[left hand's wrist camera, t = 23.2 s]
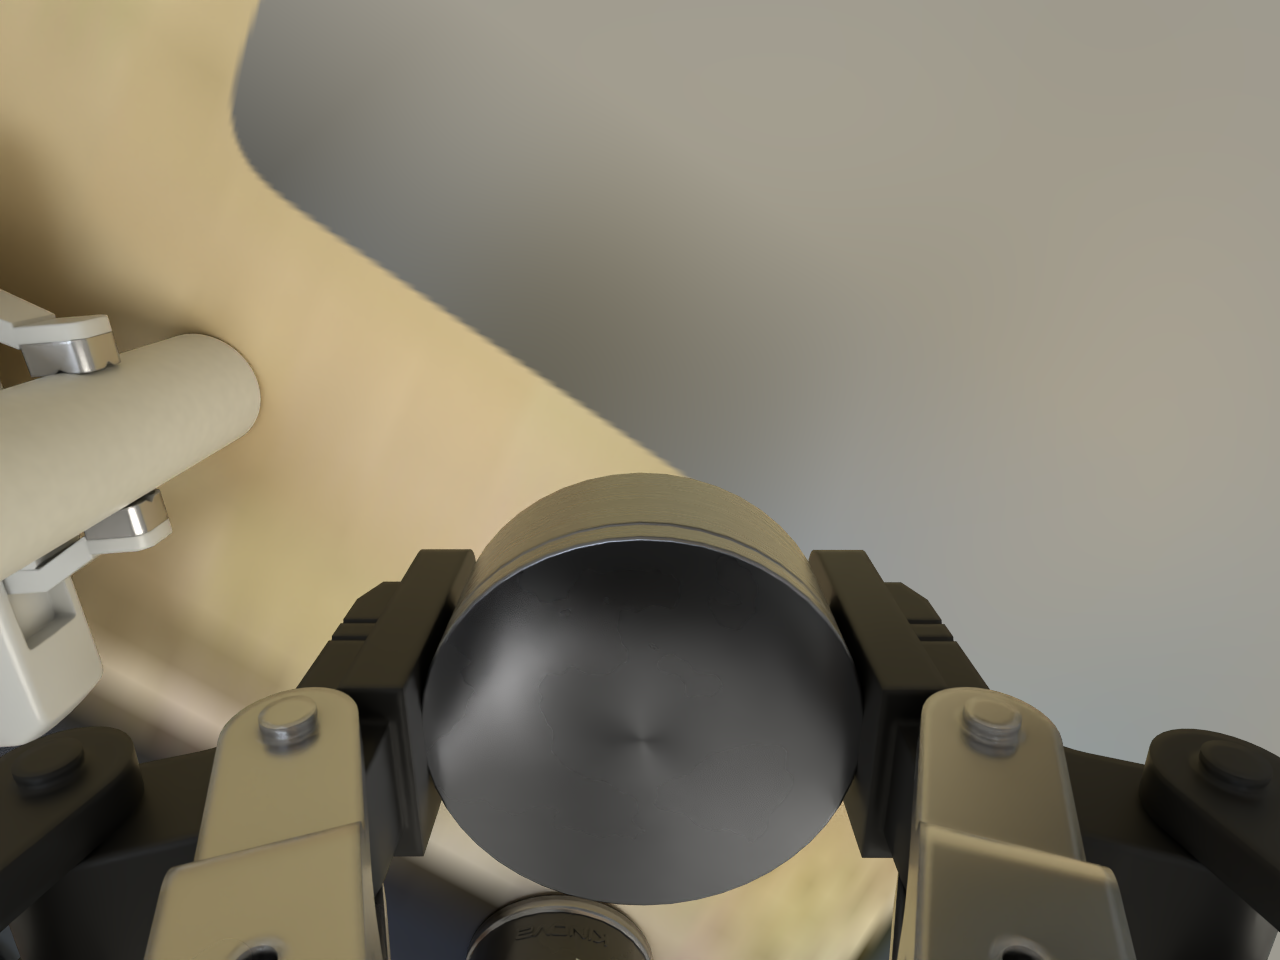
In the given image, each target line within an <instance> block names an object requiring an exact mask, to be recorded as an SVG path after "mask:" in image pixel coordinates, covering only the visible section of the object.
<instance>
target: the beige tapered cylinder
mask: <svg viewBox="0 0 1280 960" xmlns="http://www.w3.org/2000/svg"><path fill="white" fill-rule="evenodd" d="M119 356H120V359H121V363H119V364H116V365H108V366H106V367H105V368H104V369H100V370H97V371H92V372H87V373H80V374H67V373H65V372H61V373H58V374H54V375H49V376H45V377H41V378H38V379H35V380H32V381H28V382H25V383H22V384H19V385H15V386H12V387H9V388H6V389H2V390H0V581H2V580H4V579H5V578H7V577H9V576H10V575H12V574H14V573H15V572H17V571H19V570H20V569H22V568H24V567H25V566H27V565H29V564H30V563H32V562H34V561H35V560H37V559H39V558H40V557H42V556H44V555H45V554H47V553H49V552H50V551H52V550H54V549H55V548H57V547H59V546H60V545H62V544H64V543H65V542H67V541H69V540H70V539H72V538H74V537H75V536H77V535H79V534H80V533H82V532H84V531H85V530H87V529H89V528H90V527H92V526H94V525H95V524H97V523H99V522H100V521H102V520H104V519H105V518H107V517H109V516H110V515H112V514H114V513H115V512H117V511H119V510H120V509H122V508H124V507H125V506H127V505H129V504H130V503H132V502H134V501H135V500H137V499H139V498H140V497H142V496H144V495H145V494H147V493H149V492H150V491H152V490H154V489H155V488H157V487H159V486H160V485H162V484H164V483H165V482H167V481H169V480H170V479H172V478H174V477H175V476H177V475H179V474H180V473H182V472H184V471H185V470H187V469H189V468H190V467H192V466H194V465H195V464H197V463H199V462H200V461H202V460H204V459H205V458H207V457H209V456H210V455H212V454H214V453H215V452H217V451H219V450H220V449H222V448H224V447H225V446H227V445H229V444H230V443H232V442H234V441H235V440H237V439H239V438H240V437H242V436H243V435H244V434H246V433H247V432H248V431H249V430H250V428H251V427H252V426H253V425H254V423H255V421H256V419H257V416H258V413H259V409H260V400H261V397H260V389H259V384H258V381H257V378H256V376H255V374H254V372H253V370H252V368H251V367H250V365H249V364H248V362H247V361H246V360H245V359H244V357H243V356H242V355H241V354H240V353H239V352H237V351H236V350H235V349H234V348H232V347H231V346H230V345H228V344H226V343H225V342H223V341H221V340H219V339H216V338H213V337H211V336H207V335H202V334H183V335H178V336H175V337H172V338H169V339H165V340H162V341H159V342H156V343H152V344H149V345H146V346H142V347H139V348H136V349H133V350H129V351H126V352H123V353H120V354H119Z"/></svg>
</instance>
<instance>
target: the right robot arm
mask: <svg viewBox="0 0 1280 960" xmlns="http://www.w3.org/2000/svg"><path fill="white" fill-rule="evenodd" d="M0 343H3V344H5V345H8V346H11V347H13V348H16V349H18V350H21V351H22V354H23V356H24V359H25V362H26V364H27V367H28V370H29V372H30V375H31V377H42V376H49V375H54V374H58V373H61V372H65V373H67V374H80V373H87V372H92V371H97V370H100V369H104V368H105V367H106V366H108V365H116V364H119V363H121V359H120V356H119V352H118V349H117V345H116V342H115V338H114V334H113V331H112V329H111V326H110V322H109V319H108V315H104V314H100V315H88V316H75V317H62V318H56V317H55V314H54V313H52V312H49V311H47V310H45V309H43V308H41V307H39V306H36V305H34V304H32V303H30V302H28V301H26V300H24V299H21V298H19V297H17V296H15V295H13V294H11V293H8V292H6V291H4V290H2V289H0ZM2 389H3V386H2V383H1V380H0V390H2ZM84 533H85V536H84V537H82V538H81V539H80V537H79V535H77V536H75V537H74V538H72V539H70V540H69V541H67V542H65V543H64V544H62V545H60V546H59V547H57V548H55V549H54V550H52V551H50V552H49V553H47V554H45V555H44V556H42V557H40V558H39V559H37V560H35V561H34V562H32V563H30V564H29V565H27V566H25V567H24V568H22V569H20V570H19V571H17V572H15V573H14V574H12V575H10V576H9V577H7V578H5V579H4V580H2V581H0V747H8V746H18V745H23V744H26V743H29V742H31V741H33V740H36V739H37V738H39V737H41V736H42V735H44V734H45V733H47V732H48V731H49V730H50V729H52V728H53V727H54V726H56V725H57V724H58V723H59V722H60V721H61V720H62V719H64V718H65V717H66V716H67V715H68V714H69V713H70V712H71V711H72V710H73V709H74V708H75V707H76V706H77V705H78V704H79V703H80V702H81V701H82V700H83V699H84V698H85V697H86V696H87V695H88V693H89V692H90V691H91V690H92V689H93V688H94V686H95V685H96V684H97V683H98V681H99V680H100V678H101V677H102V674H103V665H102V662H101V658H100V656H99V653H98V650H97V647H96V645H95V642H94V639H93V636H92V634H91V631H90V628H89V625H88V623H87V620H86V617H85V614H84V611H83V609H82V606H81V603H80V600H79V598H78V595H77V592H76V589H75V586H74V584H73V581H72V578H71V575H72V574H74V573H75V572H77V571H78V570H80V569H81V568H83V567H84V566H86V565H87V564H89V563H90V562H92V561H93V560H94V559H96V558H97V557H98V556H100V555H101V554H108V553H121V552H134V551H140V550H144V549H147V548H150V547H152V546H154V545H156V544H157V543H159V542H160V541H161V540H163V539H164V538H165V537H167V536H168V535H169V534H171V533H172V527H171V524H170V520H169V517H168V515H167V511H166V508H165V505H164V502H163V499H162V495H161V492H160V490H159V489H154V490H152V491H150V492H149V493H147V494H145V495H144V496H142V497H140V498H139V499H137V500H135V501H134V502H132V503H130V504H129V505H127V506H125V507H124V508H122V509H120V510H119V511H117V512H115V513H114V514H112V515H110V516H109V517H107V518H105V519H104V520H102V521H100V522H99V523H97V524H95V525H94V526H92V527H90V528H89V529H87V530H85V531H84Z"/></svg>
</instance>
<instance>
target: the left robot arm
mask: <svg viewBox="0 0 1280 960" xmlns="http://www.w3.org/2000/svg"><path fill="white" fill-rule="evenodd" d="M475 563H476V560H475V556H474V553H473V551H472V550H471V549H422V550H420V551H419V553H418V554H417V556H416V557H415V559H414V561H413V562H412V564H411V566H410V567H409V569H408V571H407V572H406V574H405V576H404V577H403V579H402V581H401V582H382V583H381V584H379V585H378V586H376V587H375V588H373V589H372V590H370V591H369V592H367V593H366V594H364V595H363V596H361V597H360V598H358V599H357V600H356V602H355V603H354V605H353V606H352V608H351V609H350V610H349V612H348V613H347V615H346V616H345V618H344V619H343V623H341V624H340V625H339V627H338V628H337V629H336V631H335V632H334V634H333V635H332V641H328V643H327V644H326V645H325V647H324V648H323V650H322V651H321V653H320V654H319V656H318V657H317V659H316V660H315V661H314V663H313V664H312V666H311V667H310V669H309V670H308V672H307V673H306V675H305V676H304V678H303V679H302V680H301V682H300V683H299V685H298V686H297V688H296V689H292V690H287V691H283V692H279V693H276V694H273V695H270V696H268V697H265V698H263V699H260V700H258V701H256V702H254V703H253V704H251V705H249V706H247V707H246V708H244V709H243V710H241V711H240V712H238V713H237V714H236V715H235V716H234V717H232V718H231V719H230V721H229V722H228V723H227V724H226V725H225V726H224V728H223V730H222V731H221V733H220V736H219V739H218V743H217V747H215V748H212V749H208V750H204V751H200V752H195V753H190V754H185V755H180V756H175V757H170V758H166V759H161V760H156V761H151V762H146V763H141V764H139V763H138V760H137V756H136V752H135V748H134V745H133V742H132V740H131V738H130V737H129V736H128V735H127V734H126V733H124V732H122V731H121V730H118V729H114V728H110V727H82V728H75V729H70V730H65V731H61V732H57V733H54V734H50V735H47V736H44V737H41V738H38V739H36V740H33V741H31V742H29V743H26V744H24V745H22V746H20V747H18V748H16V749H14V750H12V751H10V752H8V753H7V754H5V755H3V756H2V757H0V932H1V931H2V930H3V929H5V928H6V927H7V926H8V925H9V926H10V929H11V932H12V934H13V937H14V940H15V943H16V945H17V948H18V951H19V954H20V956H21V957H20V958H19V959H18V960H391V958H390V945H389V933H388V920H387V908H386V898H385V891H384V885H383V882H384V880H385V877H386V874H387V872H388V869H389V866H390V863H391V861H392V858H393V856H424V853H425V850H426V847H427V844H428V841H429V838H430V834H431V831H432V828H433V825H434V822H435V819H436V816H437V813H438V810H439V807H440V804H441V800H442V799H441V797H440V796H439V794H438V792H437V790H436V788H435V786H434V783H433V781H432V778H431V776H430V773H429V769H428V762H427V754H426V745H425V736H424V728H423V718H422V707H421V706H422V691H423V688H424V684H425V680H426V677H427V673H428V669H429V666H430V664H431V662H432V659H433V657H434V655H435V653H436V650H437V648H438V646H439V643H440V641H441V639H442V637H443V634H444V632H445V630H446V627H447V625H448V623H449V621H450V618H451V616H452V614H453V611H454V609H455V607H456V605H457V602H458V600H459V598H460V595H461V593H462V591H463V589H464V586H465V584H466V582H467V580H468V577H469V575H470V573H471V571H472V568H473V566H474V565H475ZM809 564H810V566H811V568H812V570H813V572H814V574H815V576H816V578H817V581H818V583H819V585H820V587H821V589H822V592H823V594H824V596H825V598H826V601H827V603H828V605H829V607H830V610H831V612H832V614H833V616H834V618H835V621H836V623H837V625H838V627H839V630H840V632H841V634H842V636H843V639H844V641H845V643H846V646H847V648H848V650H849V652H850V654H851V656H852V659H853V661H854V664H855V667H856V670H857V673H858V677H859V680H860V683H861V687H862V694H863V702H864V709H863V719H862V729H861V737H860V746H859V754H858V762H857V769H856V772H855V775H854V778H853V781H852V784H851V786H850V788H849V789H848V791H847V793H846V795H845V797H844V799H843V801H844V804H845V808H846V811H847V814H848V817H849V820H850V823H851V826H852V829H853V832H854V835H855V838H856V841H857V844H858V847H859V850H860V853H861V856H862V858H893V860H894V862H895V865H896V868H897V870H898V878H897V885H896V891H895V898H894V908H893V920H892V933H891V945H890V958H889V960H1267V959H1268V956H1269V954H1270V951H1271V948H1272V946H1273V943H1274V940H1275V938H1276V935H1277V932H1278V931H1279V932H1280V757H1278V756H1276V755H1275V754H1273V753H1271V752H1269V751H1267V750H1265V749H1263V748H1261V747H1259V746H1256V745H1254V744H1252V743H1249V742H1247V741H1244V740H1241V739H1238V738H1235V737H1232V736H1229V735H1225V734H1221V733H1217V732H1212V731H1207V730H1199V729H1176V730H1170V731H1166V732H1163V733H1161V734H1159V735H1157V736H1156V737H1155V738H1154V739H1153V740H1152V742H1151V744H1150V747H1149V751H1148V755H1147V758H1146V762H1145V765H1144V764H1139V763H1134V762H1129V761H1124V760H1119V759H1114V758H1109V757H1105V756H1100V755H1095V754H1090V753H1086V752H1081V751H1077V750H1073V749H1070V748H1067V747H1064V746H1063V743H1062V739H1061V736H1060V733H1059V731H1058V730H1057V728H1056V726H1055V725H1054V724H1053V723H1052V722H1051V721H1050V719H1049V718H1048V717H1046V716H1045V715H1044V714H1043V713H1041V712H1040V711H1039V710H1037V709H1036V708H1034V707H1033V706H1031V705H1029V704H1027V703H1025V702H1024V701H1022V700H1019V699H1017V698H1015V697H1012V696H1010V695H1007V694H1004V693H1001V692H997V691H993V690H990V689H989V688H988V686H987V685H986V683H985V682H984V680H983V679H982V678H981V676H980V675H979V673H978V672H977V670H976V669H975V668H974V666H973V665H972V663H971V662H970V660H969V659H968V657H967V656H966V655H965V653H964V652H963V650H962V649H961V647H960V646H959V645H958V643H957V642H956V641H953V636H952V634H951V633H950V632H949V630H948V629H947V627H946V626H945V624H942V622H941V619H940V617H939V616H938V614H937V613H936V611H935V610H934V609H933V607H932V606H931V604H930V603H929V601H928V600H927V599H925V598H924V597H922V596H921V595H919V594H918V593H916V592H915V591H913V590H912V589H910V588H909V587H907V586H906V585H904V584H903V583H901V582H883V580H882V578H881V577H880V575H879V574H878V572H877V570H876V569H875V567H874V565H873V564H872V562H871V560H870V559H869V557H868V556H867V554H866V553H865V551H863V550H813V551H812V552H811V554H810V557H809ZM466 960H653V957H652V952H651V949H650V946H649V944H648V942H647V940H646V938H645V937H644V935H643V933H642V932H641V931H640V930H639V928H638V927H637V926H636V925H635V924H634V923H633V922H632V921H631V920H629V919H628V918H627V917H626V916H624V915H623V914H621V913H620V912H618V911H616V910H615V909H613V908H611V907H609V906H607V905H604V904H602V903H599V902H596V901H592V900H588V899H584V898H580V897H575V896H564V895H551V896H540V897H534V898H529V899H525V900H522V901H519V902H516V903H513V904H511V905H509V906H506V907H504V908H503V909H501V910H499V911H497V912H496V913H494V914H493V915H492V916H490V917H489V918H488V919H487V920H486V921H485V922H484V923H483V924H482V925H481V926H480V927H479V928H478V930H477V931H476V933H475V934H474V936H473V938H472V940H471V942H470V945H469V948H468V952H467V956H466Z"/></svg>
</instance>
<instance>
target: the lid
mask: <svg viewBox="0 0 1280 960" xmlns="http://www.w3.org/2000/svg"><path fill="white" fill-rule="evenodd" d="M421 707H422V718H423V728H424V736H425V745H426V754H427V762H428V769H429V773H430V776H431V778H432V781H433V783H434V786H435V788H436V790H437V792H438V794H439V796H440V797H441V799H442V801H443V803H444V805H445V806H446V808H447V810H448V811H449V812H450V814H451V815H452V816H453V818H454V819H455V820H456V822H457V823H458V824H459V826H460V827H461V828H462V829H463V830H464V831H465V832H466V833H467V834H468V835H469V836H470V837H471V838H472V840H473V841H474V842H475V843H476V844H477V845H478V846H480V847H481V848H482V849H483V850H485V851H486V852H487V853H488V854H490V855H491V856H492V857H493V858H495V859H496V860H497V861H498V862H500V863H502V864H503V865H505V866H506V867H508V868H510V869H511V870H513V871H514V872H516V873H518V874H519V875H521V876H523V877H525V878H527V879H530V880H532V881H534V882H536V883H538V884H540V885H542V886H545V887H547V888H550V889H553V890H556V891H559V892H562V893H564V894H567V895H571V896H575V897H580V898H584V899H588V900H592V901H599V902H606V903H613V904H624V905H659V904H673V903H679V902H686V901H692V900H698V899H702V898H705V897H709V896H713V895H717V894H720V893H724V892H726V891H729V890H732V889H734V888H737V887H740V886H742V885H745V884H747V883H749V882H751V881H753V880H755V879H757V878H759V877H761V876H763V875H765V874H767V873H769V872H771V871H772V870H774V869H775V868H777V867H778V866H780V865H781V864H783V863H784V862H786V861H787V860H789V859H791V858H792V857H793V856H794V855H795V854H797V853H798V852H799V851H800V850H801V849H802V848H804V847H805V846H806V845H807V844H808V843H810V842H811V841H812V839H813V838H814V837H815V836H816V835H817V834H818V833H819V832H820V831H821V830H822V829H823V828H824V827H825V826H826V824H827V823H828V822H829V820H830V819H831V817H832V816H833V815H834V813H835V812H836V810H837V809H838V808H839V806H840V805H841V803H842V801H843V799H844V797H845V795H846V793H847V791H848V789H849V788H850V786H851V784H852V781H853V778H854V775H855V772H856V769H857V762H858V754H859V746H860V737H861V729H862V719H863V709H864V702H863V694H862V687H861V683H860V680H859V677H858V673H857V670H856V667H855V664H854V661H853V659H852V656H851V654H850V652H849V650H848V648H847V646H846V643H845V641H844V639H843V636H842V634H841V632H840V630H839V627H838V625H837V623H836V621H835V618H834V616H833V614H832V612H831V610H830V607H829V605H828V603H827V601H826V598H825V596H824V594H823V592H822V589H821V587H820V585H819V583H818V581H817V578H816V576H815V574H814V572H813V570H812V568H811V566H810V564H809V562H808V560H807V559H806V557H805V556H804V555H803V553H802V552H801V550H800V549H799V547H798V546H797V544H796V543H795V542H794V541H793V540H792V538H791V537H790V536H789V535H788V534H787V533H786V532H785V531H784V530H783V529H782V528H781V526H780V525H778V524H777V523H776V522H775V521H774V520H772V519H771V518H770V517H769V516H768V515H766V514H765V513H764V512H763V511H762V510H760V509H759V508H757V507H755V506H754V505H752V504H750V503H749V502H747V501H746V500H744V499H742V498H741V497H739V496H737V495H735V494H732V493H730V492H728V491H726V490H724V489H721V488H719V487H717V486H714V485H710V484H707V483H704V482H701V481H698V480H694V479H691V478H685V477H679V476H673V475H668V474H652V473H632V474H618V475H610V476H605V477H600V478H595V479H590V480H586V481H583V482H580V483H577V484H574V485H571V486H568V487H565V488H562V489H560V490H558V491H556V492H554V493H552V494H550V495H548V496H546V497H544V498H542V499H540V500H538V501H537V502H535V503H534V504H532V505H531V506H529V507H528V508H526V509H525V510H523V511H522V512H520V513H519V514H518V515H517V516H515V517H514V518H513V519H512V520H511V521H510V522H509V523H507V524H506V525H505V526H504V527H503V528H502V529H501V530H500V531H499V532H498V533H497V534H496V536H495V537H494V538H493V539H492V540H491V541H490V543H489V544H488V545H487V546H486V547H485V549H484V550H483V552H482V554H481V555H480V557H479V558H478V560H477V561H476V563H475V565H474V566H473V568H472V571H471V573H470V575H469V577H468V580H467V582H466V584H465V586H464V589H463V591H462V593H461V595H460V598H459V600H458V602H457V605H456V607H455V609H454V611H453V614H452V616H451V618H450V621H449V623H448V625H447V627H446V630H445V632H444V634H443V637H442V639H441V641H440V643H439V646H438V648H437V650H436V653H435V655H434V657H433V659H432V662H431V664H430V666H429V669H428V673H427V677H426V680H425V684H424V688H423V691H422V706H421Z"/></svg>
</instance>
